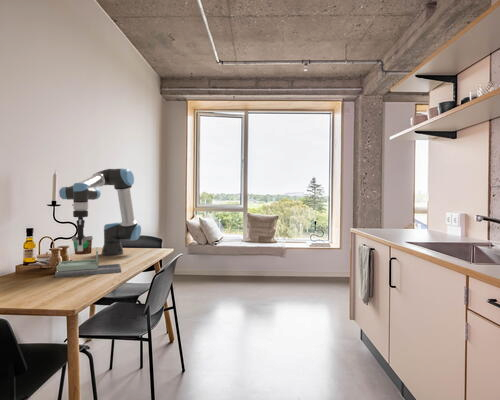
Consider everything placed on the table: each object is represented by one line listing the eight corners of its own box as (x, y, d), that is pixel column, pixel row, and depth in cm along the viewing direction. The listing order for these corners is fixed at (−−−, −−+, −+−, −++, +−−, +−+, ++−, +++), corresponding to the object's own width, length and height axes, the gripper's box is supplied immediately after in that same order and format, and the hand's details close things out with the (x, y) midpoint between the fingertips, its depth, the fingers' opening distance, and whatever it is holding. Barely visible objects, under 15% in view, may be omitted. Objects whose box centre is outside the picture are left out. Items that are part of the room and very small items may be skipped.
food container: (67, 254, 191) (66, 237, 190) (75, 252, 197) (74, 235, 196) (85, 255, 188) (84, 237, 187) (93, 253, 194) (92, 235, 193)
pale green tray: (59, 266, 196) (59, 249, 196) (97, 264, 204) (98, 247, 204) (56, 272, 181) (56, 253, 181) (98, 269, 189) (98, 251, 189)
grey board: (58, 270, 196) (58, 267, 196) (119, 266, 210) (119, 262, 210) (54, 277, 180) (54, 273, 180) (121, 272, 193) (121, 268, 193)
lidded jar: (61, 266, 209) (61, 251, 209) (49, 270, 198) (49, 254, 198) (44, 265, 210) (44, 250, 210) (32, 269, 199) (32, 253, 199)
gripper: (74, 209, 201) (74, 247, 201) (71, 210, 181) (71, 253, 181) (88, 209, 204) (88, 247, 204) (87, 210, 184) (87, 252, 184)
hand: (80, 249), depth 193 cm, fingers closed on food container, 8 cm apart
